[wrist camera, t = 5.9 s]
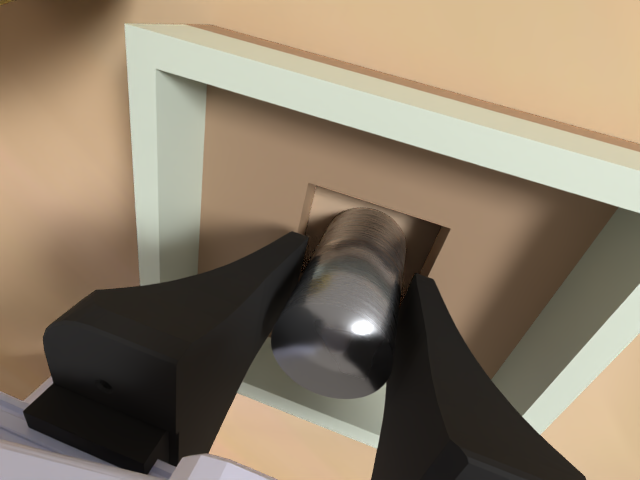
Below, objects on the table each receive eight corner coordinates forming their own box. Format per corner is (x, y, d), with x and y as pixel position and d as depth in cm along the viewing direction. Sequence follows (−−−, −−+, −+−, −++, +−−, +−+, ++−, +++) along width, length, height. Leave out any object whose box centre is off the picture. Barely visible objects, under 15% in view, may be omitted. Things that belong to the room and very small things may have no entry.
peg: (393, 288, 15) (374, 414, 10) (319, 265, 16) (265, 375, 11) (417, 220, 14) (409, 329, 9) (333, 197, 14) (278, 288, 9)
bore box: (475, 399, 17) (484, 491, 14) (197, 296, 19) (144, 356, 15) (659, 149, 11) (763, 205, 7) (210, 24, 12) (124, 23, 9)
